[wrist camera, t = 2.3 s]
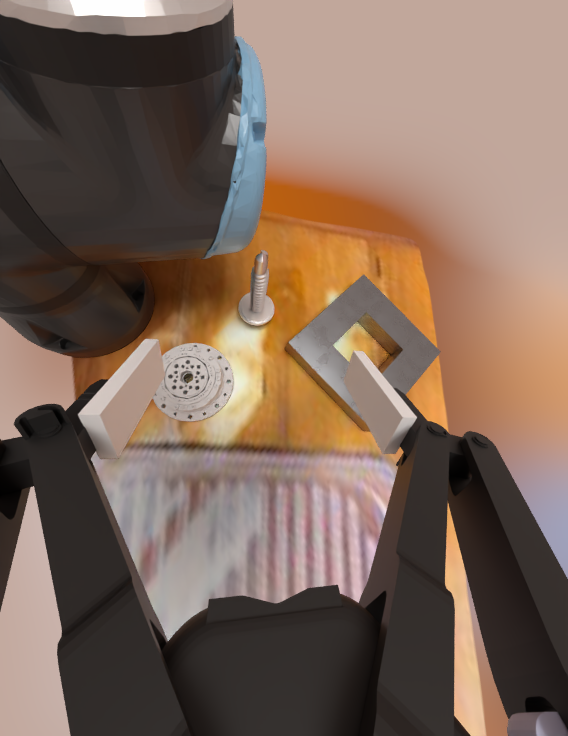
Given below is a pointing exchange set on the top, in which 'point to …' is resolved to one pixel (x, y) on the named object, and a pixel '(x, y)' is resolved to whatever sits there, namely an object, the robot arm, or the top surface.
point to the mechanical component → (194, 382)
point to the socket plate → (382, 323)
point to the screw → (257, 294)
